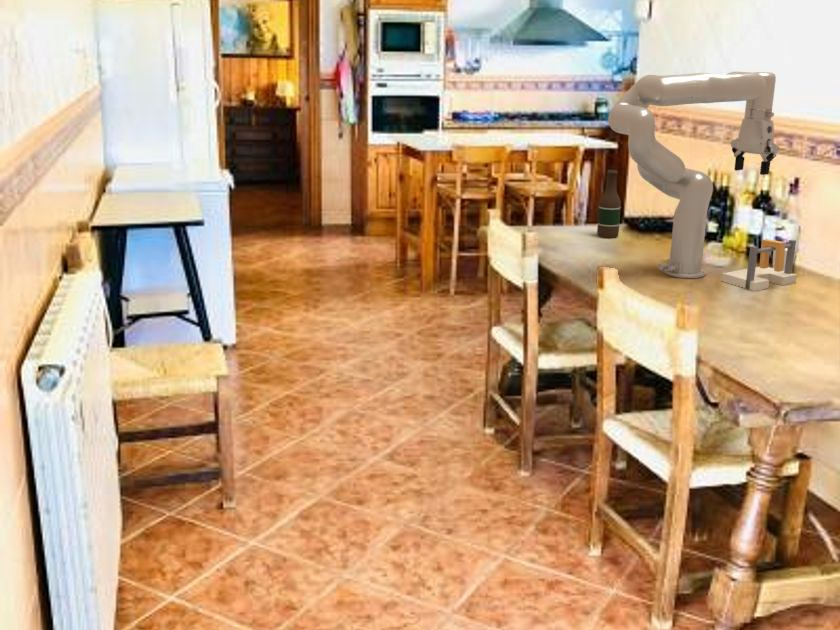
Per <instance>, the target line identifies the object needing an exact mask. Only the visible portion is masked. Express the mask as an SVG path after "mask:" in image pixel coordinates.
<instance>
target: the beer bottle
mask: <svg viewBox="0 0 840 630" xmlns="http://www.w3.org/2000/svg"><path fill="white" fill-rule="evenodd" d="M606 174H607V175H606V177H607V178H606V182H605V189H604V193H603V194H602V196H601V198H600V200H599V204H598V212H597V213H598V217H597V231H596V233H597V234H596V235H597V237H599V238H601V239H609V240H610V239H617V238H618V236H619V231H620V220H621V208H622V206H621V198H620V196H619V194H618V193H617V192H618V191H617V174H618V170H616V169H608V170H607V172H606Z"/></svg>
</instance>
